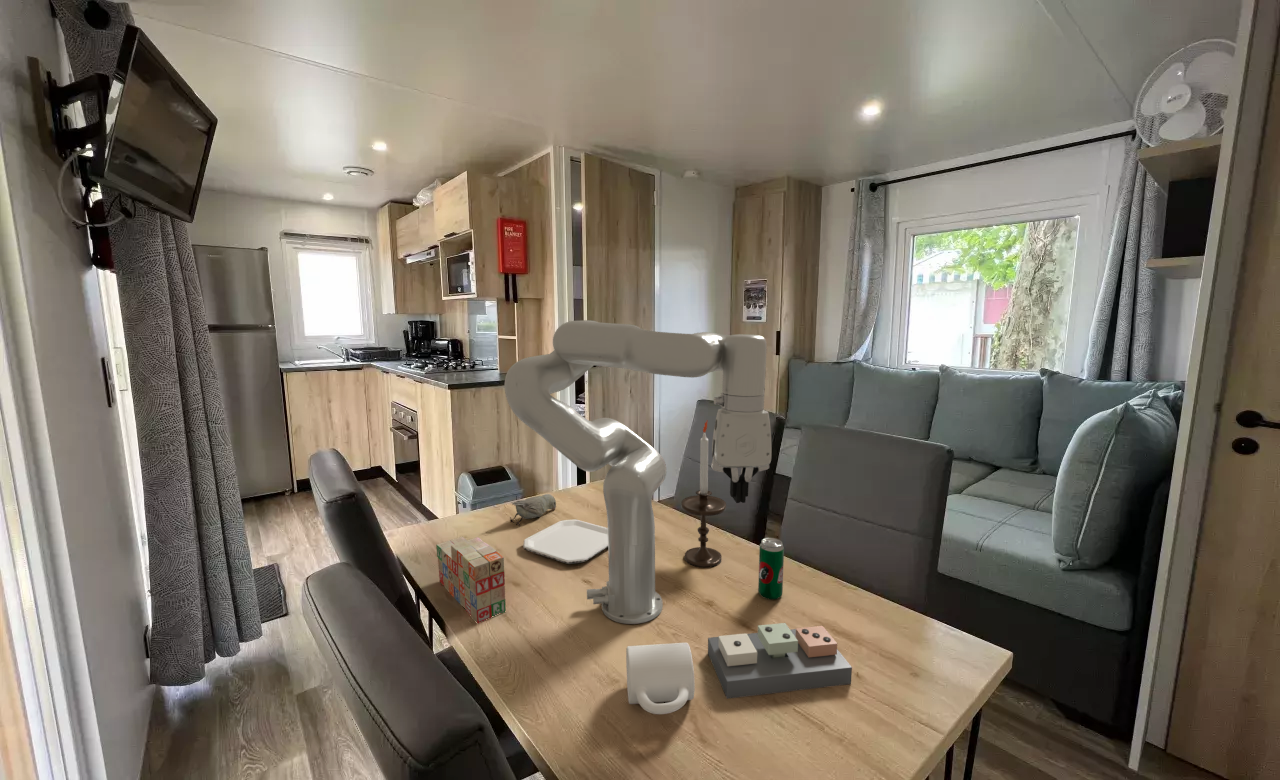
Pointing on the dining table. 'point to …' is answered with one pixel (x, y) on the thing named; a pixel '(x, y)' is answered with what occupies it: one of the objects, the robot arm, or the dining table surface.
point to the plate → (569, 541)
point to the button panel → (778, 671)
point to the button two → (777, 639)
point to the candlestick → (703, 513)
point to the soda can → (771, 568)
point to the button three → (816, 641)
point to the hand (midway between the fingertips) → (738, 500)
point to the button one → (737, 649)
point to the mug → (660, 676)
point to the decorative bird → (533, 507)
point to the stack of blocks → (473, 576)
